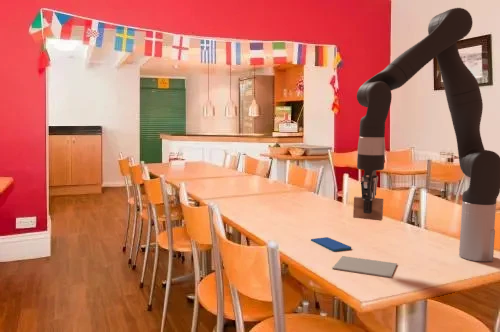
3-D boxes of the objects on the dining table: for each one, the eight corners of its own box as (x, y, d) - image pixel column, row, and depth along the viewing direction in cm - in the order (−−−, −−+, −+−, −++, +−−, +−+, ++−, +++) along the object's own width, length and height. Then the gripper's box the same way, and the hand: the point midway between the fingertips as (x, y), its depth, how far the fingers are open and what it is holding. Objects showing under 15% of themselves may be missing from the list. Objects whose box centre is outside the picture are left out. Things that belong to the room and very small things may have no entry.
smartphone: (327, 237, 160) (352, 247, 146) (327, 239, 160) (352, 250, 146) (309, 239, 157) (333, 249, 143) (309, 241, 157) (333, 252, 143)
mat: (396, 264, 131) (397, 263, 131) (391, 277, 120) (391, 276, 120) (342, 257, 138) (342, 255, 138) (332, 269, 127) (332, 267, 127)
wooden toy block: (382, 219, 130) (383, 198, 129) (381, 220, 128) (382, 199, 127) (354, 216, 133) (355, 196, 132) (353, 217, 131) (354, 197, 130)
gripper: (380, 155, 120) (377, 218, 122) (388, 152, 133) (385, 209, 135) (352, 153, 124) (350, 215, 125) (362, 150, 136) (360, 207, 138)
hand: (368, 212), depth 130 cm, fingers closed on wooden toy block, 2 cm apart
